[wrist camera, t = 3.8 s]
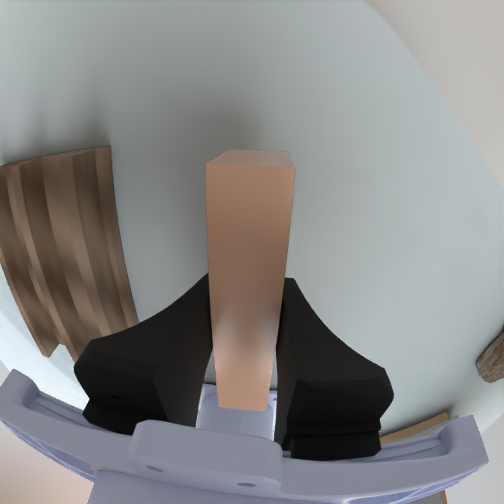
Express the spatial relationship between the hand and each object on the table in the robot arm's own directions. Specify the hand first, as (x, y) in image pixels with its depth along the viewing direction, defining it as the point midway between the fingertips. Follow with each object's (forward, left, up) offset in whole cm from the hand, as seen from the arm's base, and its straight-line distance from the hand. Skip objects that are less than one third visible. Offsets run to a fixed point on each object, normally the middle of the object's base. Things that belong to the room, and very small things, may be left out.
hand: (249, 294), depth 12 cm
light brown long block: (0, 0, -2) cm, 2 cm away
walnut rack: (-3, +15, -5) cm, 16 cm away
